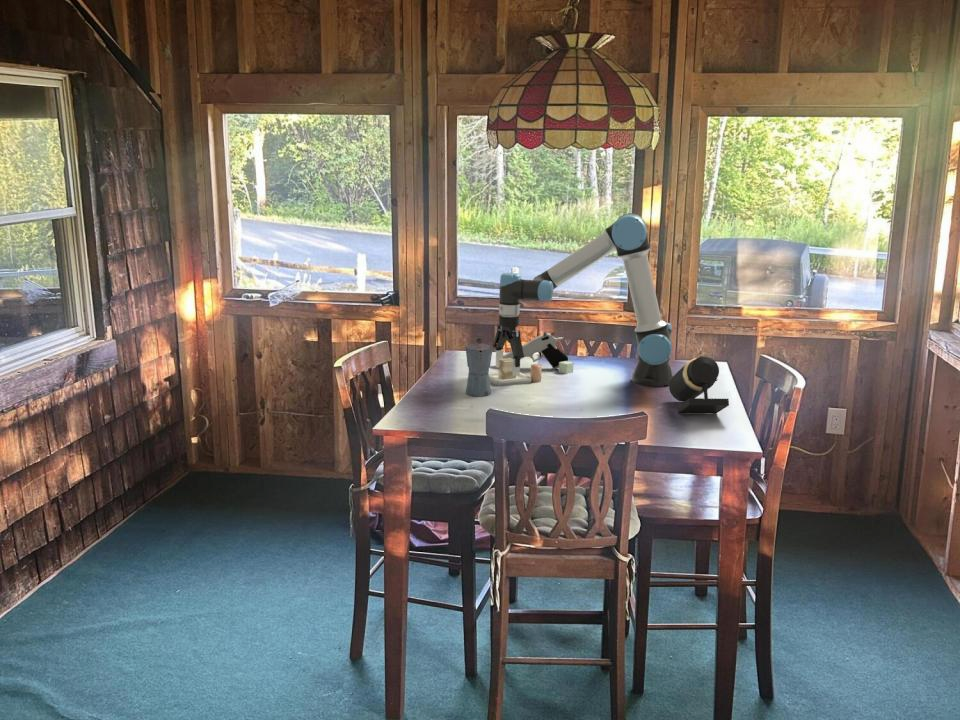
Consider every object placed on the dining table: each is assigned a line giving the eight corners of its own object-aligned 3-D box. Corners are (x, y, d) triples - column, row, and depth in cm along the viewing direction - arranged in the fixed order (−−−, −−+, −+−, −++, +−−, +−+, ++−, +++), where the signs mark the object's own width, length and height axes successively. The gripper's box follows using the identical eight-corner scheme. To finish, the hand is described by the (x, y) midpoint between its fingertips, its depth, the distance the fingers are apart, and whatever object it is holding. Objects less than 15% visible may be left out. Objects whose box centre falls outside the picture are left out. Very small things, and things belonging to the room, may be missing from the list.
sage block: (573, 372, 352) (573, 362, 352) (566, 374, 350) (567, 364, 349) (565, 370, 355) (565, 360, 354) (558, 372, 352) (559, 362, 352)
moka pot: (467, 399, 311) (468, 342, 306) (461, 387, 325) (462, 333, 321) (494, 398, 312) (496, 342, 308) (487, 387, 327) (488, 333, 322)
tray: (531, 382, 335) (531, 377, 334) (497, 386, 329) (497, 381, 328) (516, 375, 345) (516, 370, 345) (483, 378, 339) (483, 373, 339)
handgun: (574, 360, 354) (556, 327, 351) (512, 391, 359) (494, 359, 356) (574, 358, 358) (556, 325, 355) (512, 388, 363) (495, 356, 360)
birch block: (516, 379, 336) (516, 360, 334) (504, 380, 333) (505, 362, 332) (510, 376, 340) (510, 358, 338) (498, 377, 338) (498, 359, 336)
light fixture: (700, 372, 317) (724, 352, 292) (704, 421, 312) (729, 405, 288) (664, 371, 316) (685, 352, 291) (667, 421, 312) (689, 405, 287)
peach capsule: (542, 381, 337) (543, 366, 335) (533, 382, 335) (534, 367, 334) (537, 379, 340) (538, 363, 339) (528, 380, 339) (529, 364, 337)
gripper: (485, 310, 341) (483, 364, 345) (515, 321, 319) (514, 379, 324) (502, 309, 344) (501, 363, 349) (534, 320, 322) (532, 377, 327)
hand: (507, 371), depth 336 cm, fingers open, 13 cm apart
